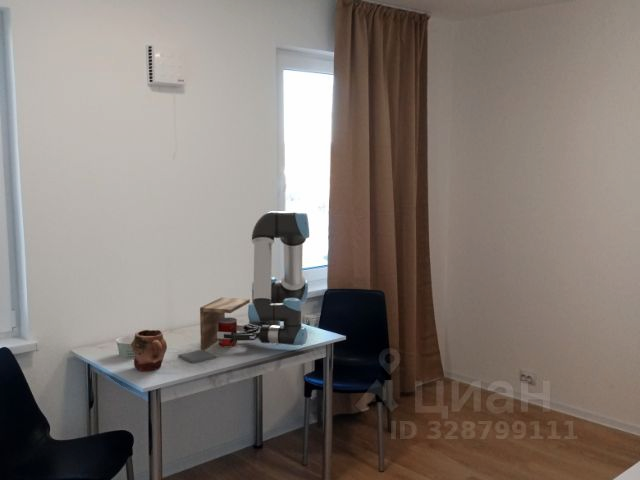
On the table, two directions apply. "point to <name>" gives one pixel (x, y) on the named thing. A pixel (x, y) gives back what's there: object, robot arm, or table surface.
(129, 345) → the food container
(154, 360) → the terracotta animal pitcher
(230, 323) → the canned food
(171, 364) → the table surface
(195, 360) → the rubber mat
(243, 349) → the table surface
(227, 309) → the walnut shelf
